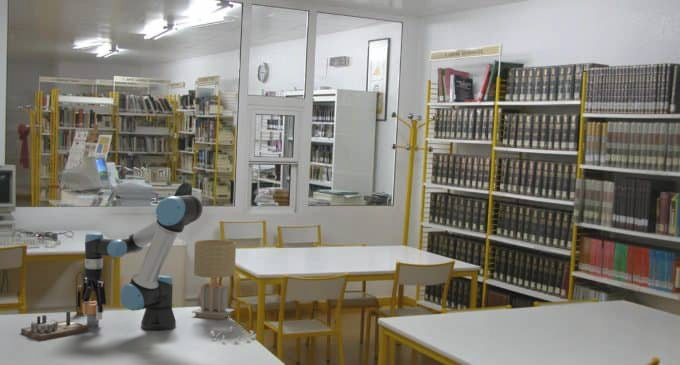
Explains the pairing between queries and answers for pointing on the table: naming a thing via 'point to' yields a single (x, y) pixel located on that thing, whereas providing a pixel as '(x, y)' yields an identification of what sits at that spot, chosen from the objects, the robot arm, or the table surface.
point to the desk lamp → (214, 275)
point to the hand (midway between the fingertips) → (92, 317)
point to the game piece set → (233, 339)
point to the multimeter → (79, 297)
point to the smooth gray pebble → (92, 320)
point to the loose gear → (90, 307)
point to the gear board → (55, 333)
